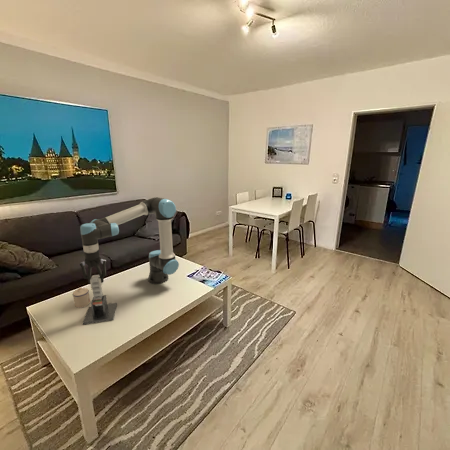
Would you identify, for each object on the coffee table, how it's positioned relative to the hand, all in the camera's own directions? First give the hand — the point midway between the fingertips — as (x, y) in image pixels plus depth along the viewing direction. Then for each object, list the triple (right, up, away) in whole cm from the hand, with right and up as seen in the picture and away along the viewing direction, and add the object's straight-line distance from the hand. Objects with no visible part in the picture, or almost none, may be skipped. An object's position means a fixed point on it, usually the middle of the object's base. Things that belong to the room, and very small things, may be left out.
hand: (97, 288), depth 145 cm
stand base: (0, -17, +5) cm, 18 cm away
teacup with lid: (-18, -14, +16) cm, 28 cm away
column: (0, -10, +3) cm, 11 cm away
